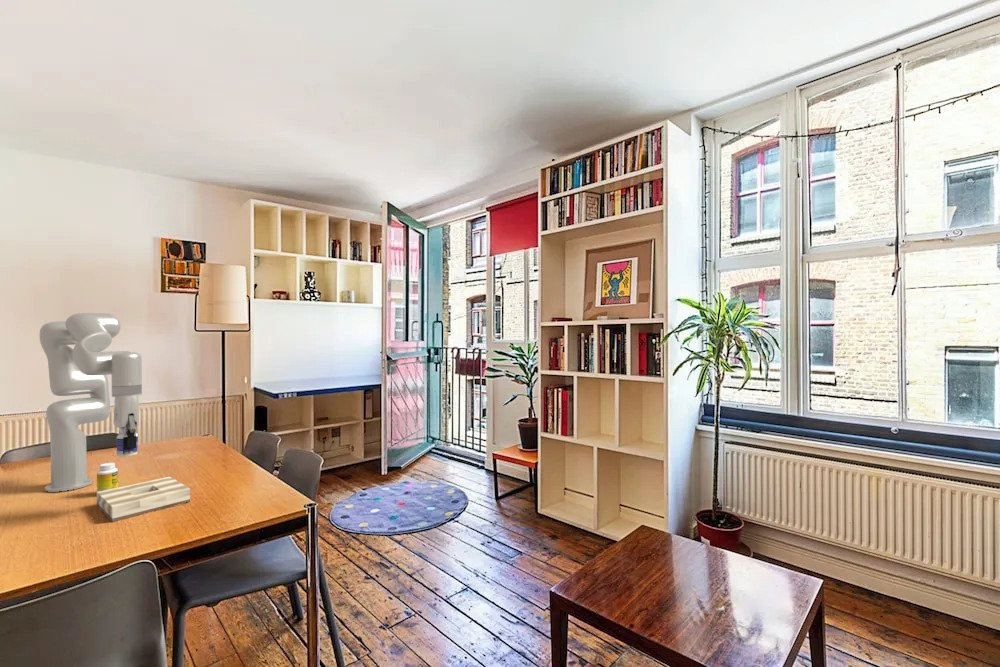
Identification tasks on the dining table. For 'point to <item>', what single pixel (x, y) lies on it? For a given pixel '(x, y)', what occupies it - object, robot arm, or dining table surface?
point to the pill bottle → (120, 450)
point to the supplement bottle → (107, 477)
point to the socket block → (142, 498)
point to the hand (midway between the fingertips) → (127, 446)
